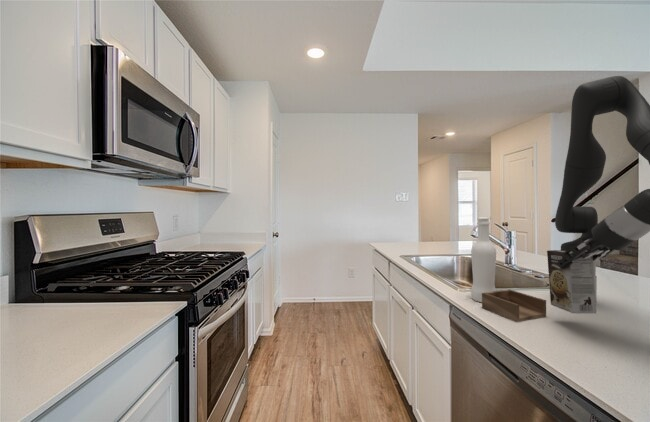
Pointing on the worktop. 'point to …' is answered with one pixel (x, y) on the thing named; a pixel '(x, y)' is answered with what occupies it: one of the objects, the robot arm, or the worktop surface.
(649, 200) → the robot arm
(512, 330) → the worktop surface
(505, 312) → the holder
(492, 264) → the bottle
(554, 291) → the coffee box
